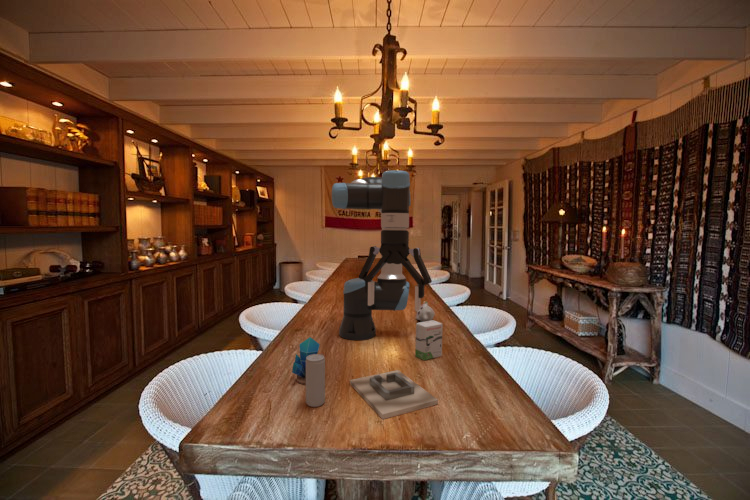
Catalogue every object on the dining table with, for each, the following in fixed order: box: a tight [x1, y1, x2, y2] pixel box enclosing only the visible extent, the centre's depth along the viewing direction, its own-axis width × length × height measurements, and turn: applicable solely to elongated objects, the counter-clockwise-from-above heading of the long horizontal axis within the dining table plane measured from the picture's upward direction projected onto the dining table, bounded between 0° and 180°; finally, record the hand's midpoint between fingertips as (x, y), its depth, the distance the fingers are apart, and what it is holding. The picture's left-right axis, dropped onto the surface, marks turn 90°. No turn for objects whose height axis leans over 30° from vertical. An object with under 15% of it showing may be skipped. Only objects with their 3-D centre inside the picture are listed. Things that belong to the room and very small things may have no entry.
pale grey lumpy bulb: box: [415, 300, 436, 322], centre depth 165 cm, size 10×8×15 cm
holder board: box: [349, 369, 439, 420], centre depth 94 cm, size 20×16×3 cm
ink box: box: [414, 319, 444, 361], centre depth 121 cm, size 9×5×12 cm, turn 124°
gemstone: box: [291, 336, 321, 386], centre depth 102 cm, size 7×9×12 cm
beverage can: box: [305, 353, 326, 408], centre depth 89 cm, size 5×5×12 cm
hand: (393, 307), depth 95 cm, fingers open, 13 cm apart
